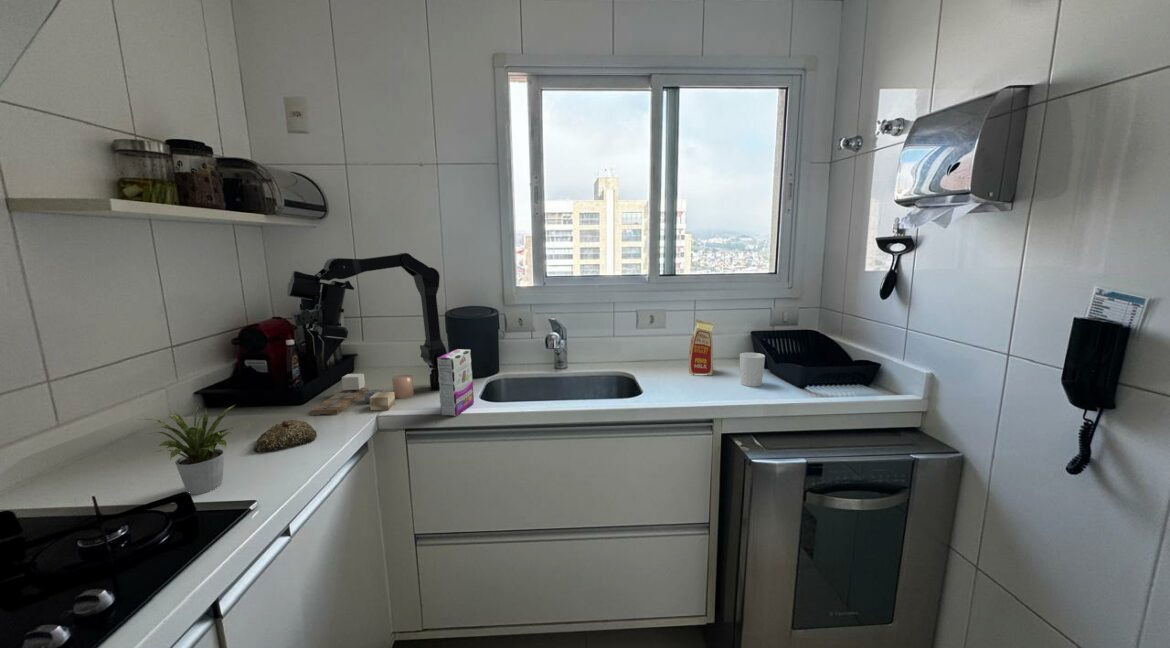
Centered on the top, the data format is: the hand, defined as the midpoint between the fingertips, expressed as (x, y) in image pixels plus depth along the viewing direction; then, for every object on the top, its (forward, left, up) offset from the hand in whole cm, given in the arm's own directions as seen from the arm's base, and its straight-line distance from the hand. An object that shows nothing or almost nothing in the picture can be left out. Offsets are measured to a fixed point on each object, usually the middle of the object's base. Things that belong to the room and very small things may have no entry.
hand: (320, 358), depth 123 cm
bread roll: (0, +19, -16) cm, 25 cm away
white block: (0, -16, -13) cm, 21 cm away
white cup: (-129, -19, -16) cm, 132 cm away
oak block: (-14, -3, -16) cm, 22 cm away
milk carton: (-117, -35, -16) cm, 124 cm away
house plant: (+3, +42, -16) cm, 45 cm away
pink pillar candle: (-16, -14, -16) cm, 27 cm away
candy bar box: (-36, 0, -16) cm, 40 cm away
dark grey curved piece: (-9, -9, -16) cm, 20 cm away
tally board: (0, -8, -15) cm, 18 cm away
